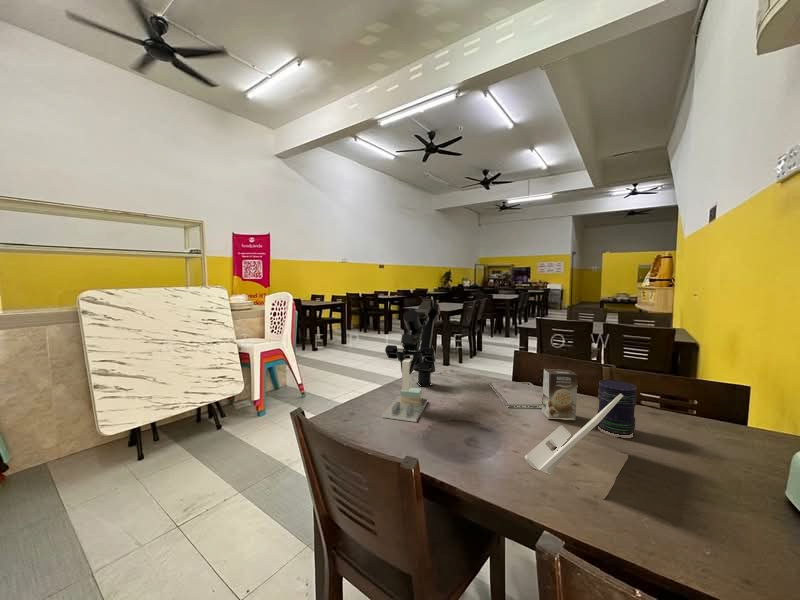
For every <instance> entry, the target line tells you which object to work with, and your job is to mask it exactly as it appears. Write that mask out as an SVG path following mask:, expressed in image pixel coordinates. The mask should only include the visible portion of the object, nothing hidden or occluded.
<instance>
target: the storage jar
mask: <svg viewBox="0 0 800 600" xmlns="http://www.w3.org/2000/svg"><path fill="white" fill-rule="evenodd" d="M597 390H598V392H597V393H598V395H597V399H598V410H597V412H596V415H597V414H598V413H599V412H600V411H601V410H603V409H604V408H605V407H606V406H607V405H608V404H609V403H610V402H611V401H613V400H614V399H615V398H616V397H617V396H618V395H619V394H620V393H621V394H622V395H623V397H622V398H621V399H620V400H619V401H618V402H617V403H616V405H615V406H614V407H613V408H612V409H611V410H610V411H609V412H608V413H607V414H606V416H605V417H604V418H603V419H602V420H601V421H600V422H599V423H598V424H597V425H598V426H599V427H600V428H601V429H603V430H605V431H608V432H610V433H614V434H619V435H630V434H632V433H633V432H635V429H636V417H635V407H636V405H637V398H638V396H637V386H636V385H634V384H632V383H629V382H626V381H621V380H616V379H615V380H613V379H601V380H599V382H598V389H597Z"/></svg>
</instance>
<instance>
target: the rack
mask: <svg viewBox="0 0 800 600" xmlns="http://www.w3.org/2000/svg"><path fill="white" fill-rule="evenodd" d="M428 402H429V399H428V398H423V397H421V400H420V402H419V403H411V402H403V401H401V395H398V396H397V397H396V398H395V399H394V400H393V401H392V403H391V404H390V405H388V407H387V408H386V410H385V411H384V412H383V413H382V414H381V415H382V416H381V417H382V418H384V419H392V420H398V421H405V422H412V423H417V422H418V420H419V419H420V416H421V415H422V413H423V411H424V410H425V407H426V406H427V404H428Z"/></svg>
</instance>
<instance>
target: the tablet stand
mask: <svg viewBox="0 0 800 600" xmlns="http://www.w3.org/2000/svg"><path fill="white" fill-rule="evenodd" d="M622 397H623V395H622V394H621V393H620V394H619V395H618V396H617V397H616V398H615V399H614V400H613V401H611V402H610V403H609V404H608V405H607V406H606V407H605V408H604V409H603V410H601V411H600V412H599V413H598V414H597V413H596V415H594V417H593V418H591V419H590V420H589V421H588V422H587V423H585V425H584V426H583V427H581V428H580V429H579V430H578V431H576V433H575V434H574V435H573V437H572V438H571V439H570V440H569V441H568V442H567V443H566V444H565V445H564V446H562V445H563V444H564V443H565V442H566V441H567V439H568V438H569V437H570V436H571V435H572V434H571V432H570V431H568V429H566V428H565V427H564V426H563V425H559V426H558V427H557V428H556V429H554V430H553V431H552V432H551V433H550V434H549V435H548V436H547V437H546V438H544V439H543V440H542V441H541V442H539V443H538V444H537V445H536V446H535V447H533V449H532V450H530V451H529V452H528V453H526V455H525V456H524V460H525V461H526V462H527V463H528V464H529V465H530V466H531V467H532V469H534V468H535V469H538V470H541V471H543V472H545V473H548V474H551V473H553V472H552V471H553V470H554V468H555V467H556V466H557V465H558V464H559V463H560V462H561V460H563V459H564V458H565V456H566V455H567V453H568V452H569V451H570V450H571V449H572V448H573V447H574V446H575V444H576V443H577V442H578V441H579V440H580V439H581V438H582V439H583V437H585V436H587V434H588V433H589V432H591V430H593V429H594V428H595V427H596V426H597V425H598V423H599V422H600V421H601V420H602V419H603V418H604V417H605V416H606V414H607V413H608V412H609V411H610V410H611V409H612V408H613V407H614V406H615V405H616V403H617V402H618V401H619V400H620V399H621V398H622ZM548 442H550V443H551V445H553V446H554V447H555V446H556V447H557V448H556V449H555V450H554V449H553V450H551V448H550V447H549V446H547V445H546V443H548ZM561 446H562V447H561ZM557 450H558V451H557ZM535 469H534V470H535Z"/></svg>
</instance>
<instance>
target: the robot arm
mask: <svg viewBox="0 0 800 600" xmlns="http://www.w3.org/2000/svg"><path fill="white" fill-rule="evenodd" d="M440 314H441V307H440V305H439V303H437V302H435V301H434V299H432V298H431V299H430V298H423V299H422V300H421V304H420V305H419V306H418V307H417V309H416V308H410V307H409V310H407V311H405V312H404V313H403V317H402V318H403V321H404V325H405V328H406V329H407V333H402V334H401V338H400V343H401V346H402V347H397V344H395V345H393V344H387V345H386V346H385V349H384V351H385V354H386V356H387V358H388V359H390V360H391V359H393V360H396V359H397V360H398V361H399V362H400V370H401V372H402V361H403V360H405V359H406V356H409V357H410V356H411V357H412V363H411V367H410V371H409V374H411V373H412V374H413V372H417V381H418V383H419V384H420V385H421V386H423V387H429V386H428V385H430V384H431V383H432V381H431V380H432V376H431V375H432V374H433V373H435V372H436V365H435V362H436V360H437V355H436V351H435V348H434V347H432V341H433V332H434V326H435V323H436V322H437V321H438V320H439V316H440ZM420 385H419V386H420ZM419 386H418V387H419Z"/></svg>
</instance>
